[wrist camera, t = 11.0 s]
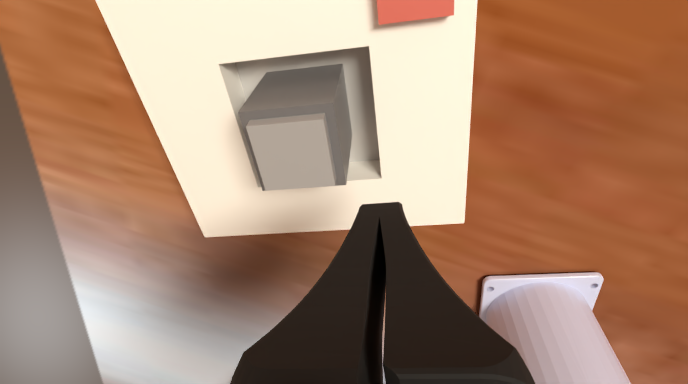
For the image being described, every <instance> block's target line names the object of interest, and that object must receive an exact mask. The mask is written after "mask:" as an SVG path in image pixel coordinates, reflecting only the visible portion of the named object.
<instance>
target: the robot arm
mask: <svg viewBox="0 0 688 384" xmlns="http://www.w3.org/2000/svg"><path fill="white" fill-rule="evenodd" d="M603 279H604V278H603V277H602V275H601V274H600V273H597V272H589V273H561V274H533V275H505V276H488V277H485V278H484V279H483V283H482V293H481V302H480V311H479V316H477V315H476V314H475V313H474V312H473V311H472V310H471V309H470V308H469V307H468V306H467V305H466V304H465V302H464V301H463V300H462V299H461V298H460V297H459V296H458V295H457V294H456V293H455V292H454V291H453V290H452V289H451V287H450V286H449V285H448V284H447V283H446V282H445V280H444V279H443V278H442V277H441V275H440V274H439V273H438V271H437V270H436V269H435V267H434V266H433V265H432V263H431V262H430V260H429V259H428V257H427V256H426V254H425V253H424V251H423V250H422V248H421V246H420V245H419V243H418V241H417V239H416V237H415V236H414V234H413V232H412V230H411V228H410V226H409V224H408V221H407V219H406V217H405V214H404V211H403V207H402V204H401V203H400V202H388V203H374V204H362V205H361V206H360V207H359V210H358V213H357V216H356V218H355V220H354V223H353V225H352V227H351V229H350V231H349V233H348V235H347V237H346V239H345V240H344V242H343V244H342V246H341V248H340V249H339V251H338V253H337V254H336V256H335V257H334V259H333V260H332V262H331V264H330V265H329V267H328V268H327V269H326V271H325V272H324V274H323V275H322V276H321V278H320V279H319V280H318V282H317V283H316V284H315V285H314V287H313V288H312V289H311V290H310V291H309V293H308V294H307V295H306V296H305V297H304V298H303V300H302V301H301V302H300V303H299V304H298V305H297V306H296V307H295V308H294V309H293V310H292V311H291V312H290V313H289V314H288V315H287V316H286V317H285V318H284V319H283V320H282V321H281V322H280V323H279V324H278V325H276V326H275V327H274V328H273V329H272V330H271V331H270V332H269V333H267V334H266V335H265V336H264V337H262V338H261V339H260V340H259V341H257V342H256V343H255V344H254V345H252V346H251V347H250V348H249V349H247V350H246V351H245V352H244V353H243V355H242V357H241V359H240V361H239V364H238V366H237V368H236V370H235V372H234V375H233V377H232V380H231V383H230V384H383V370H382V330H383V317H384V303H385V290H386V312H385V338H384V357H383V367H384V373H385V379H386V384H631V383H630V381H629V379H628V377H627V375H626V373H625V371H624V370H623V368H622V366H621V364H620V362H619V360H618V358H617V357H616V355H615V353H614V351H613V349H612V347H611V346H610V344H609V342H608V340H607V338H606V336H605V334H604V333H603V331H602V329H601V327H600V325H599V323H598V321H597V320H596V318H595V316H594V314H593V312H592V310H593V307H594V304H595V302H596V299H597V296H598V294H599V291H600V288H601V285H602V283H603Z"/></svg>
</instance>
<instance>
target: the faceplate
mask: <svg viewBox="0 0 688 384" xmlns="http://www.w3.org/2000/svg"><path fill="white" fill-rule="evenodd" d="M96 2H97V5H98V7H99V9H100V11H101V13H102V15H103V18H104V20H105V22H106V24H107V26H108V28H109V31H110V33H111V35H112V37H113V39H114V41H115V44H116V46H117V48H118V50H119V52H120V54H121V57H122V59H123V61H124V63H125V65H126V67H127V70H128V72H129V74H130V76H131V78H132V80H133V83H134V85H135V87H136V89H137V91H138V94H139V96H140V98H141V100H142V102H143V104H144V107H145V109H146V111H147V113H148V115H149V117H150V120H151V122H152V124H153V126H154V128H155V130H156V133H157V135H158V137H159V139H160V141H161V143H162V146H163V148H164V150H165V152H166V154H167V156H168V159H169V161H170V163H171V165H172V167H173V169H174V172H175V174H176V176H177V178H178V180H179V182H180V185H181V187H182V189H183V191H184V193H185V196H186V198H187V200H188V202H189V204H190V206H191V209H192V211H193V213H194V215H195V217H196V219H197V222H198V224H199V226H200V228H201V230H202V232H203V235H204V237H220V236H238V235H256V234H275V233H293V232H311V231H330V230H348V229H351V227H352V225H353V223H354V220H355V218H356V216H357V213H358V210H359V207H360V206H361V205H362V204H374V203H388V202H400V203H401V204H402V207H403V211H404V214H405V217H406V219H407V221H408V224H409V226H421V225H440V224H458V223H464V220H465V203H466V186H467V169H468V151H469V134H470V117H471V100H472V83H473V66H474V48H475V31H476V14H477V0H96ZM334 64H343V69H344V77H345V84H346V92H347V99H348V106H349V114H350V121H351V128H352V142H351V150H350V158H349V167H348V175H347V184H346V185H339V186H327V187H313V188H299V189H284V190H270V191H262V188H261V184H260V181H259V178H258V175H257V172H256V168H255V165H254V162H253V159H252V156H251V153H250V149H249V146H248V143H247V140H246V137H245V133H244V130H243V127H242V124H241V121H240V118H239V114H238V111H239V110H240V109H241V107H242V106H243V104H244V103H245V102H246V100H247V99H248V97H249V96H250V95H251V93H252V92H253V90H254V89H255V88H256V86H257V85H258V83H259V82H260V81H261V79H262V78H263V76H264V75H265V74H266V72H273V71H282V70H290V69H299V68H308V67H317V66H325V65H334Z"/></svg>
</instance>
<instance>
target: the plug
mask: <svg viewBox="0 0 688 384" xmlns="http://www.w3.org/2000/svg"><path fill="white" fill-rule="evenodd" d="M238 114H239V118H240V121H241V124H242V127H243V130H244V133H245V137H246V140H247V143H248V146H249V149H250V153H251V156H252V159H253V162H254V165H255V168H256V172H257V175H258V178H259V181H260V184H261V188H262V191H270V190H284V189H299V188H313V187H327V186H339V185H346V184H347V175H348V167H349V158H350V150H351V142H352V128H351V121H350V114H349V106H348V99H347V92H346V84H345V77H344V69H343V64H334V65H325V66H317V67H308V68H299V69H290V70H282V71H273V72H266V74H265V75H264V76H263V78H262V79H261V81H260V82H259V83H258V85H257V86H256V88H255V89H254V90H253V92H252V93H251V95H250V96H249V97H248V99H247V100H246V102H245V103H244V104H243V106H242V107H241V109H240V110H239V111H238Z"/></svg>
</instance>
